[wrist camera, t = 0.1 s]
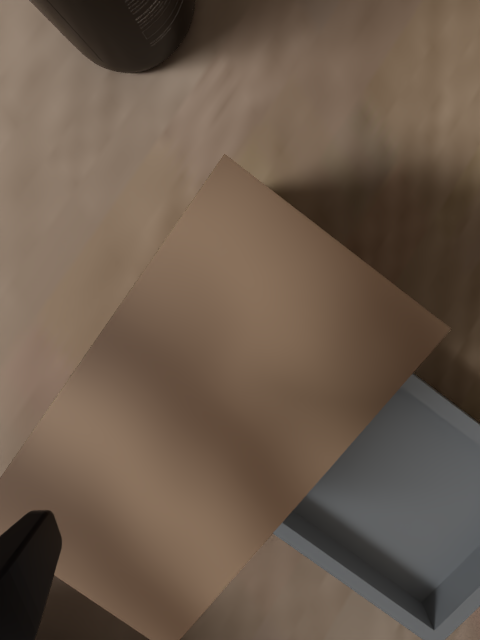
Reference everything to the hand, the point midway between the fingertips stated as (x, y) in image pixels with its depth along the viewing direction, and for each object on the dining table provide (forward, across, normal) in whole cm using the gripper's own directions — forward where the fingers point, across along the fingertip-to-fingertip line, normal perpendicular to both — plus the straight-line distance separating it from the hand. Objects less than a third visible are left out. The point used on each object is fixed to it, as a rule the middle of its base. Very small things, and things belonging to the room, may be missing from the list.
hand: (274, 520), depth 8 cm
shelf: (+15, +2, +4) cm, 16 cm away
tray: (+13, -7, +12) cm, 19 cm away
